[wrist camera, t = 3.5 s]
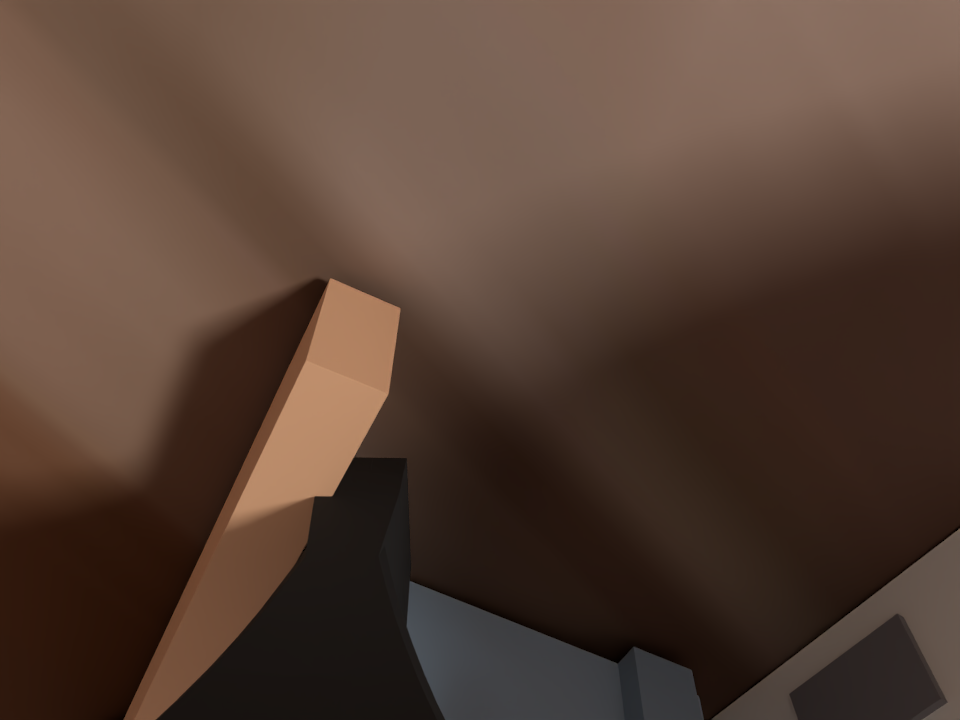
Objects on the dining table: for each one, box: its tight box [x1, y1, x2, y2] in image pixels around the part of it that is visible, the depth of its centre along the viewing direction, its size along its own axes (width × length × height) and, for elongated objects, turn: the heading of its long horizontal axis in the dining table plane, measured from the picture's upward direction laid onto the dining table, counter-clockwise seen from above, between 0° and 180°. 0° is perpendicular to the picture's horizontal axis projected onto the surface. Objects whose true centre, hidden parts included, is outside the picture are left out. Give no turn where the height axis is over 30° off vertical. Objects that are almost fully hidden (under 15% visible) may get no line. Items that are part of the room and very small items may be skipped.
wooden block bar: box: [124, 278, 401, 720], centre depth 14 cm, size 12×2×2 cm, turn 153°
